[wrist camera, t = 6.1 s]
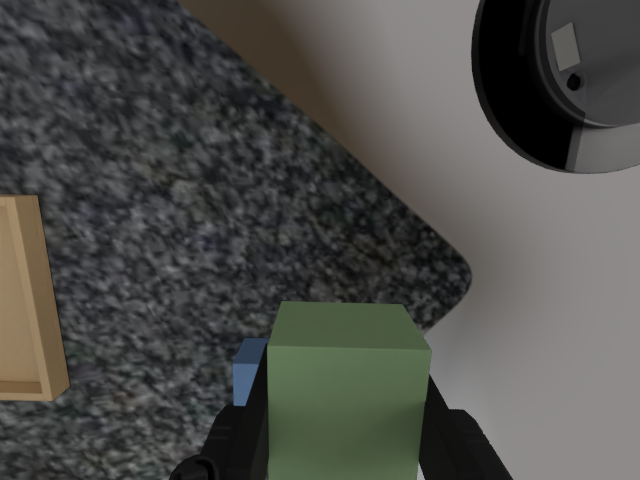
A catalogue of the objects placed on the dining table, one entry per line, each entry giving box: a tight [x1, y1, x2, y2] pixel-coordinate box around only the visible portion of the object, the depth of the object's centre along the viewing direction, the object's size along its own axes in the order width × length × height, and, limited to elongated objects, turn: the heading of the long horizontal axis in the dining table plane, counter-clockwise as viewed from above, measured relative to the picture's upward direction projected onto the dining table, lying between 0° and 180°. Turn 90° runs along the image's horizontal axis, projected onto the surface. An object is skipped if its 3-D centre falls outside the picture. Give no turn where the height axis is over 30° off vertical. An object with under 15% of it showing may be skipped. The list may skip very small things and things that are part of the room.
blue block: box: [232, 338, 270, 406], centre depth 27 cm, size 6×7×4 cm
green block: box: [267, 301, 432, 480], centre depth 13 cm, size 6×7×4 cm
